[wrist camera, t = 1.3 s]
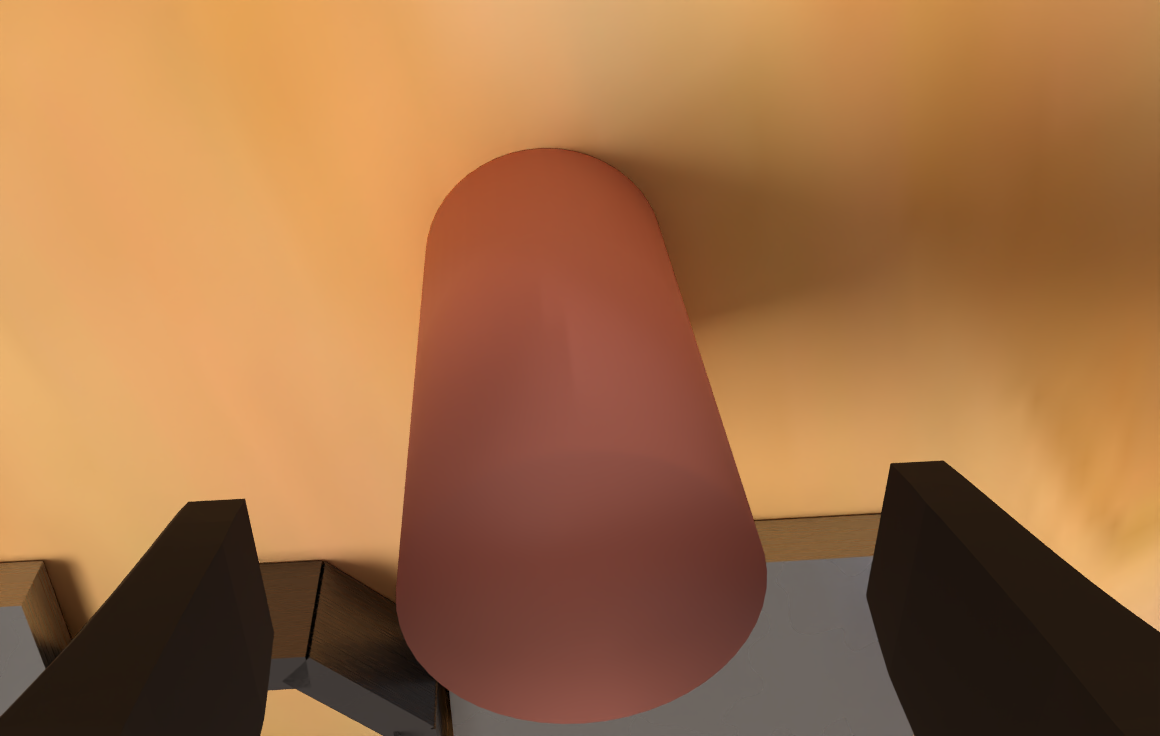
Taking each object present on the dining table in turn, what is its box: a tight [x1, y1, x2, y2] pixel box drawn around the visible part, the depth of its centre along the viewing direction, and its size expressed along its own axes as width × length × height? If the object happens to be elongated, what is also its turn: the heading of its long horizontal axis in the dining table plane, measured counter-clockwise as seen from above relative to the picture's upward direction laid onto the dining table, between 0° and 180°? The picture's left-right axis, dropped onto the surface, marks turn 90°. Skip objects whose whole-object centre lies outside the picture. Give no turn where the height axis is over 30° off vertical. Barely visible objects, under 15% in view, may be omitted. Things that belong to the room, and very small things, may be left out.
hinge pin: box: [396, 148, 767, 724], centre depth 15 cm, size 4×4×8 cm
